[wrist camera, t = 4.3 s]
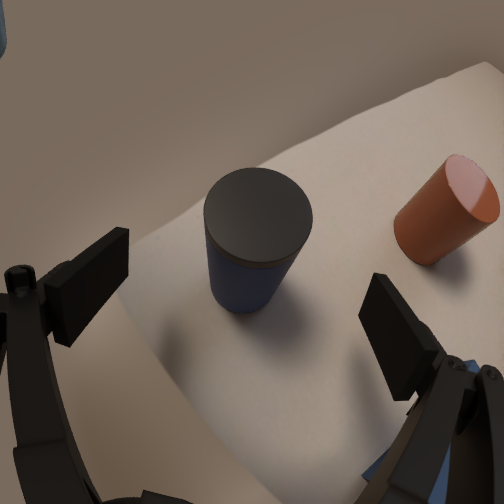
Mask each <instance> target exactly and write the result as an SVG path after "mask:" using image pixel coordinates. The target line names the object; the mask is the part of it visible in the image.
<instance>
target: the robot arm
mask: <svg viewBox="0 0 504 504" xmlns="http://www.w3.org/2000/svg"><path fill="white" fill-rule="evenodd" d="M6 44H7V39H6V28H5V20H4V12H3V4H2V0H0V58H1V57H2V56H3V54H4V52H5V49H6ZM128 263H129V229H126V228H121V227H116V228H114V229H113V230H111V231H110V232H109V233H107V234H106V235H105V236H103V237H102V238H100V239H99V240H98V241H96V242H95V243H94V244H92V245H91V246H90V247H88V248H87V249H86V250H84V251H83V252H82V253H80V254H79V255H78V256H77V257H75V258H74V259H73V260H71V261H65V262H63V263H60V264H58V265H57V266H56V267H54V268H53V270H51V271H49V272H48V274H46V275H44V276H43V277H42V278H41V279H39V280H38V281H37V282H36V277H35V271H34V268H33V267H31V266H29V265H17V266H13V267H11V268H9V269H8V270H7V271H6V272H5V274H4V277H5V282H6V287H7V292H8V294H6V293H5V294H4V293H0V374H1V369H2V365H3V362H4V358H5V354H6V350H7V369H8V381H9V392H10V401H11V409H12V416H13V423H14V429H15V434H16V439H17V447H15V448H13V456H14V462H15V466H16V470H17V474H18V478H19V481H20V485H21V489H22V492H23V496H24V499H25V502H26V504H193V503H190V502H188V501H186V500H183V499H178V498H174V497H170V496H165V495H162V494H158V493H154V492H150V491H146V490H143V492H142V496H141V498H139V497H129V498H128V497H126V498H118V499H113V500H109V501H105V502H102V501H101V499H100V497H99V495H98V493H97V491H96V489H95V487H94V486H93V484H92V481H91V479H90V477H89V475H88V473H87V470H86V468H85V466H84V463H83V460H82V458H81V455H80V453H79V450H78V448H77V445H76V442H75V439H74V437H73V433H72V431H71V428H70V425H69V422H68V419H67V415H66V412H65V409H64V405H63V402H62V398H61V394H60V391H59V387H58V383H57V379H56V375H55V370H54V366H53V362H52V357H51V352H50V346H49V342H48V338H47V336H48V335H49V334H50V332H53V336H54V341H55V342H56V343H58V344H61V345H64V346H67V347H69V348H70V347H71V345H72V344H73V343H74V341H75V340H76V339H77V337H78V336H79V335H80V334H81V332H82V331H83V330H84V329H85V327H86V326H87V325H88V324H89V322H90V321H91V320H92V318H93V317H94V316H95V315H96V314H97V312H98V311H99V310H100V309H101V307H102V306H103V305H104V304H105V303H106V302H107V300H108V299H109V298H110V297H111V295H112V294H113V293H114V292H115V291H116V290H117V288H118V287H119V286H120V285H121V284H122V283H123V281H124V280H125V279H126V278H127V277H128ZM358 317H359V319H360V321H361V323H362V326H363V328H364V330H365V332H366V335H367V337H368V339H369V341H370V344H371V346H372V348H373V351H374V353H375V356H376V358H377V360H378V363H379V365H380V367H381V370H382V372H383V375H384V377H385V380H386V382H387V385H388V387H389V390H390V392H391V395H392V397H393V400H394V401H409V399H410V398H411V396H412V395H413V393H414V392H415V390H416V392H417V394H418V396H419V397H418V398H417V400H416V401H415V403H414V404H413V406H412V407H411V408H410V410H409V411H408V412H407V414H406V415H408V417H407V419H406V421H405V423H404V424H403V426H402V428H401V430H400V432H399V434H398V436H397V437H396V439H395V441H394V443H393V444H392V446H391V448H390V450H389V451H388V453H387V455H386V456H385V458H384V460H383V461H382V463H381V464H380V466H379V468H378V469H377V471H376V472H375V474H374V475H373V477H372V478H371V480H370V481H369V483H368V484H367V486H366V487H365V489H364V490H363V492H362V493H361V494H360V496H359V497H358V499H357V500H356V501H355V503H354V504H430V503H428V500H429V497H430V495H431V493H432V490H433V488H434V485H435V483H436V481H437V478H438V476H439V473H440V470H441V468H442V465H443V462H444V460H445V457H446V454H447V451H448V448H449V445H450V460H449V473H448V483H447V492H446V500H445V504H504V380H503V377H502V374H501V373H500V372H499V370H498V369H497V368H495V367H493V366H490V365H483V366H482V367H481V369H480V370H479V372H478V373H475V372H471V371H468V367H467V365H466V364H465V363H464V362H463V361H462V360H461V359H459V358H458V357H455V356H453V355H447V353H446V352H445V350H444V349H443V347H442V346H441V345H440V343H439V342H438V341H437V339H436V337H435V336H434V335H433V333H432V331H431V330H430V329H429V327H428V326H426V325H425V324H424V323H423V322H422V321H419V319H418V318H417V316H416V315H415V313H414V312H413V311H412V309H411V308H410V306H409V305H408V304H407V302H406V301H405V300H404V298H403V297H402V295H401V294H400V293H399V291H398V290H397V289H396V287H395V286H394V285H393V283H392V282H391V281H390V279H389V278H388V277H387V275H385V274H379V273H374V274H373V276H372V279H371V282H370V285H369V288H368V290H367V293H366V296H365V299H364V301H363V304H362V307H361V309H360V312H359V314H358Z"/></svg>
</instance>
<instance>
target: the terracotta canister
mask: <svg viewBox="0 0 504 504" xmlns="http://www.w3.org/2000/svg"><path fill="white" fill-rule="evenodd" d="M499 214H500V203H499V198H498V195H497V192H496V190H495V188H494V186H493V184H492V182H491V181H490V179H489V178H488V176H487V175H486V174H485V172H484V171H483V170H482V169H481V168H480V167H479V166H478V165H477V164H476V163H474V162H473V161H472V160H470V159H468V158H466V157H464V156H461V155H451V156H449V157H448V158H447V159H446V160H445V161H444V163H443V164H442V165H441V166H440V167H439V168H438V170H437V171H436V172H435V173H434V174H433V175H432V176H431V177H430V179H429V180H428V181H427V182H426V183H425V184H424V185H423V186H422V187H421V189H420V190H419V191H418V192H417V193H416V194H415V195H414V196H413V197H412V198H411V199H410V200H409V202H408V203H407V204H406V205H405V206H404V207H403V208H402V209H401V210H400V211H399V212H398V214H397V215H396V217H395V221H394V232H395V236H396V239H397V242H398V244H399V246H400V247H401V249H402V250H403V252H404V253H405V254H406V255H407V256H408V257H409V258H410V259H412V260H413V261H415V262H417V263H419V264H422V265H432V264H435V263H436V262H438V261H439V260H441V259H442V258H444V257H445V256H447V255H448V254H450V253H451V252H453V251H454V250H456V249H457V248H459V247H460V246H462V245H463V244H465V243H466V242H467V241H469V240H470V239H472V238H473V237H474V236H476V235H477V234H479V233H480V232H481V231H483V230H484V229H486V228H487V227H488V226H490V225H491V224H492V223H494V222H495V221H496V220H497V219H498V217H499Z"/></svg>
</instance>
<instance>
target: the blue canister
mask: <svg viewBox="0 0 504 504" xmlns="http://www.w3.org/2000/svg"><path fill="white" fill-rule="evenodd" d="M312 222H313V215H312V209H311V205H310V202H309V200H308V198H307V196H306V195H305V193H304V192H303V190H302V189H301V188H300V187H299V186H298V185H297V184H296V183H295V182H294V181H293V180H291V179H290V178H288V177H287V176H285V175H283V174H281V173H279V172H276V171H274V170H270V169H265V168H245V169H240V170H236V171H233V172H231V173H229V174H227V175H226V176H224V177H222V178H221V179H220V180H219V181H217V182H216V184H215V185H214V186H213V187H212V188H211V190H210V191H209V193H208V195H207V197H206V200H205V204H204V226H205V236H206V247H207V257H208V267H209V276H210V285H211V290H212V293H213V295H214V297H215V299H216V300H217V301H218V303H219V304H220V305H221V306H223V307H224V308H226V309H227V310H229V311H232V312H235V313H251V312H255V311H257V310H259V309H261V308H262V307H264V306H265V305H266V304H267V303H268V302H269V300H270V299H271V297H272V296H273V294H274V293H275V291H276V289H277V288H278V286H279V285H280V283H281V281H282V280H283V278H284V277H285V275H286V273H287V272H288V270H289V268H290V267H291V265H292V264H293V262H294V260H295V259H296V257H297V255H298V254H299V252H300V250H301V249H302V247H303V245H304V244H305V242H306V240H307V239H308V237H309V234H310V232H311V228H312Z"/></svg>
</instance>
